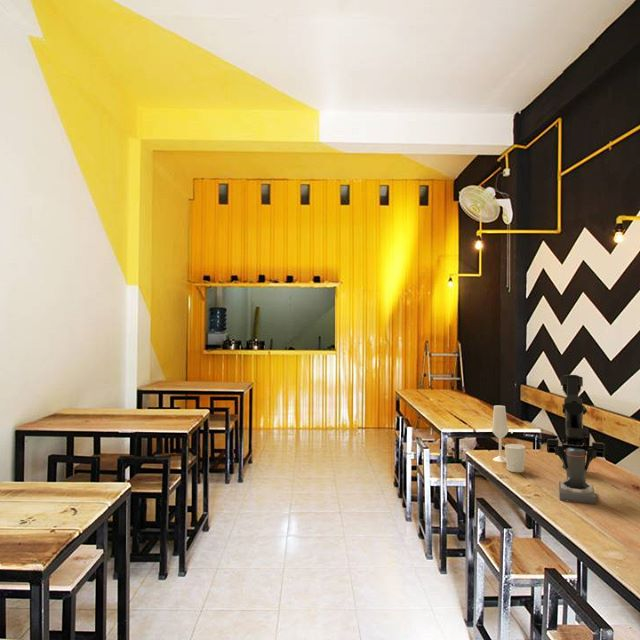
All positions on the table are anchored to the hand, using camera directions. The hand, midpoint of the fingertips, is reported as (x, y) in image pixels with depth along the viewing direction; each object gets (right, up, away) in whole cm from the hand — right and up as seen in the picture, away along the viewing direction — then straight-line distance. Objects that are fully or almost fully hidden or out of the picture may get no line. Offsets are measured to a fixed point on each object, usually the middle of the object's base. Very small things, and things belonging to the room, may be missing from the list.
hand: (576, 469), depth 174 cm
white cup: (-9, -10, +32) cm, 35 cm away
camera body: (+1, -10, +1) cm, 10 cm away
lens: (+1, -7, +1) cm, 7 cm away
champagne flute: (-9, -10, +47) cm, 49 cm away
